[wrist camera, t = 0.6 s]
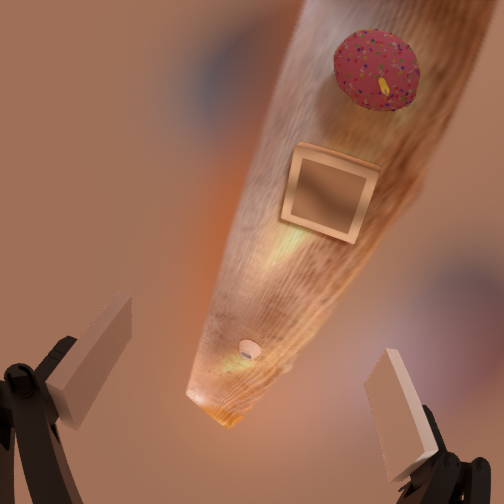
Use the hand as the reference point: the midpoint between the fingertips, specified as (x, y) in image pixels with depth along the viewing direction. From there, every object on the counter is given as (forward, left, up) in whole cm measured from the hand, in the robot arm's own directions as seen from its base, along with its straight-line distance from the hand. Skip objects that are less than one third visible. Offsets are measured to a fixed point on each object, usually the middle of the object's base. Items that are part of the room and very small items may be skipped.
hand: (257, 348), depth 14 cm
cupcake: (-13, +1, -27) cm, 30 cm away
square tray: (+3, -1, -27) cm, 27 cm away
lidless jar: (+42, -7, -27) cm, 51 cm away
